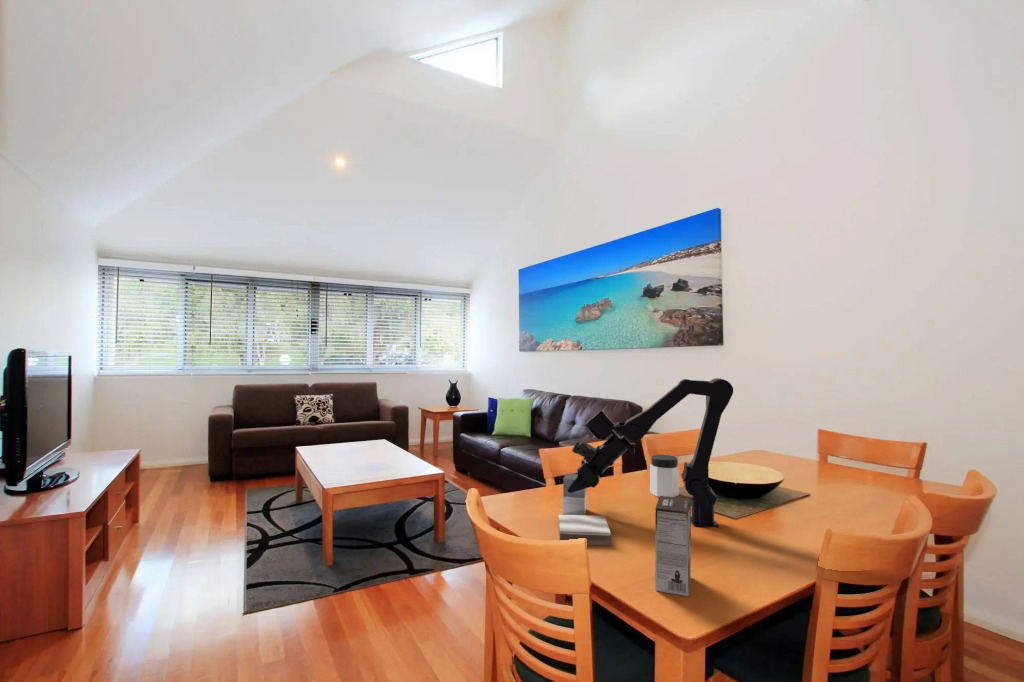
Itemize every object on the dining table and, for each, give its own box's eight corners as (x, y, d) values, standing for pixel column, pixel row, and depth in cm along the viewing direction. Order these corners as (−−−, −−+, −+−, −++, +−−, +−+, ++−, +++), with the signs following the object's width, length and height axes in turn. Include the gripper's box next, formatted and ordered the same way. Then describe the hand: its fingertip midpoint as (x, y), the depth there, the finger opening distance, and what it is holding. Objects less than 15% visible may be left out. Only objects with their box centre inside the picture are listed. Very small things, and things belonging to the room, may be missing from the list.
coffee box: (658, 571, 102) (658, 494, 102) (691, 576, 99) (691, 498, 100) (654, 591, 93) (654, 507, 94) (690, 597, 91) (690, 511, 91)
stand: (610, 545, 115) (610, 532, 115) (559, 543, 116) (560, 531, 116) (604, 527, 127) (604, 515, 127) (558, 525, 128) (558, 514, 128)
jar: (669, 500, 151) (669, 461, 151) (645, 494, 157) (646, 457, 157) (682, 494, 157) (682, 457, 158) (660, 489, 163) (660, 453, 164)
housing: (586, 509, 142) (586, 475, 142) (584, 516, 136) (584, 480, 136) (566, 507, 143) (566, 473, 143) (563, 514, 137) (563, 478, 137)
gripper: (591, 426, 148) (555, 460, 150) (586, 436, 130) (545, 474, 132) (618, 453, 146) (581, 487, 148) (616, 467, 128) (573, 506, 130)
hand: (570, 488), depth 140 cm, fingers open, 7 cm apart
